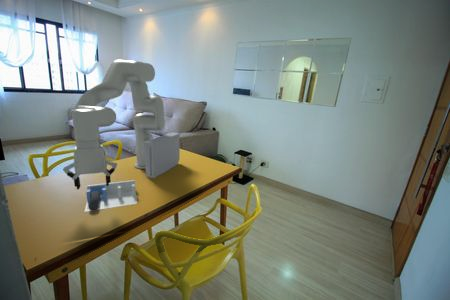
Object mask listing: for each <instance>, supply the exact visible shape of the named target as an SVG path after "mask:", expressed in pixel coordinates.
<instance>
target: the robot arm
mask: <svg viewBox="0 0 450 300" xmlns="http://www.w3.org/2000/svg"><path fill="white" fill-rule="evenodd" d="M155 77H156V69H155V67H154V65H152V64H151V63H148V62H143V61H138V60H127V59H126V60H125V59H115V60H113V61H112V62H111V64H110V66H109V67H108V69H107V71H106V73H105V75H104V77H103V79H102V81H101V82H100V83H99V84H96V85H95V86H93V87H92V88H90V89H88V90H86V91H85V92H84V93H83V94H82V95H81V96H80V97H79V99H78V100H77V103H76V105H75V107H74V109H73V110H72V112H71V118H72V125H73V132H74V134H73V135H74V139H75V147H74V149H73V162H72V163H70V164H68V165H67V166H64V167H63V168H62V171H63V172H64V173H65V174H66V176H67V177H69V178H71V180H73V183H74V187H75V188H76V190H79V189H80V188H81V186H82V185H81V180H80V175H92V174H93V175H94V174H100V173H103V174H104V175H105V183H106V186H109V183H112V182H111V175H112V174H113V173H114V172H115V171H116V168H117V167H118V163H117V162H114V161H111V160H108V159H107V157H106V156H107V155H106V151H105V147H104V145H103V144H105V143H106V141H105V139H102V138H101V137H100V128H105V127H110V126H112V125H114V124H115V122H116V120H117V113H116V111H115V110H114V109H113V108H110V107H107V106H99V105H98V104H100V103H103V102H105V101H109V100H112V99H113V100H114V99H116V98H119V97H121V96H122V94H123V93H124V91H125V88H126V86H127V84H128V85H129V88H130V91H131V99H132V104H133V109H134V110H135V111H136V112H139V113H136V114H135V115H134V116H133V118H132V124H133V129H134V134H135V147H136V148H135V150H136V153H135V154H136V162H134V164H133V165H134V168H137V169H140V170H146V164H145V141H148V140H151V139H154V137H153V135H152V132H162V131H164V129H165V125H166V122H165V121H166V120H165V118H166V117H165V107H164V101H163V99H162V97H160V96H159V95H150V93H149V86H148V82H149V83H151V82H152V81H153V80H154V79H155ZM140 112H141V113H140ZM108 166H110V167H111V168H110V169H108ZM73 168H74V172H73V171H71V170H72V169H73Z"/></svg>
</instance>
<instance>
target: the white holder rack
mask: <svg viewBox="0 0 450 300" xmlns="http://www.w3.org/2000/svg"><path fill="white" fill-rule="evenodd" d="M86 187H87V188H86V192H85V193H86V205H85V208H84V213H86V212H92V211H94V212H95V211H99V210H105V209H113V208H117V207H119V208H120V207H125V206H131V205H132V206H133V205H137V204H138V199H137V198H138V197H137V191H136V180H135V179H132V180H131V179H130V180H122V181H115V182H111V183H109V186H106V182H105V183H104V182H103V183H96V184H89V185H86ZM93 191H99V192H100V198H99V205H98V208H97V209H96V210H90V209H89V203H90V198H91V194H92V192H93Z"/></svg>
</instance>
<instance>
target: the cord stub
mask: <svg viewBox="0 0 450 300" xmlns="http://www.w3.org/2000/svg"><path fill="white" fill-rule="evenodd" d="M99 198H100V192H99V191H93V192H92V194H91V198H90V203H89V209H90V210H94V211H97V210H96V209H97V208H98V205H99Z"/></svg>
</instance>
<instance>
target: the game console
mask: <svg viewBox="0 0 450 300" xmlns="http://www.w3.org/2000/svg"><path fill="white" fill-rule="evenodd" d="M180 137H181V134H180V133H179V132H174V131H173V132H168V133H165V134H163V135H161V136H158V137H157V136H156V137H153V139H151V140H148V141H145V164H146V169H145V177H146V178H151V179H155V178H157V177H159V176H160V175H162V174H164V173H166V172H167V171H170V170H171V169H172V168H174V167H176V166H177V165H179V162H180V154H181V153H180V151H181V150H180V149H181V148H180V146H181V145H180V143H181V142H180V141H181V140H180V139H181V138H180Z"/></svg>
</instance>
